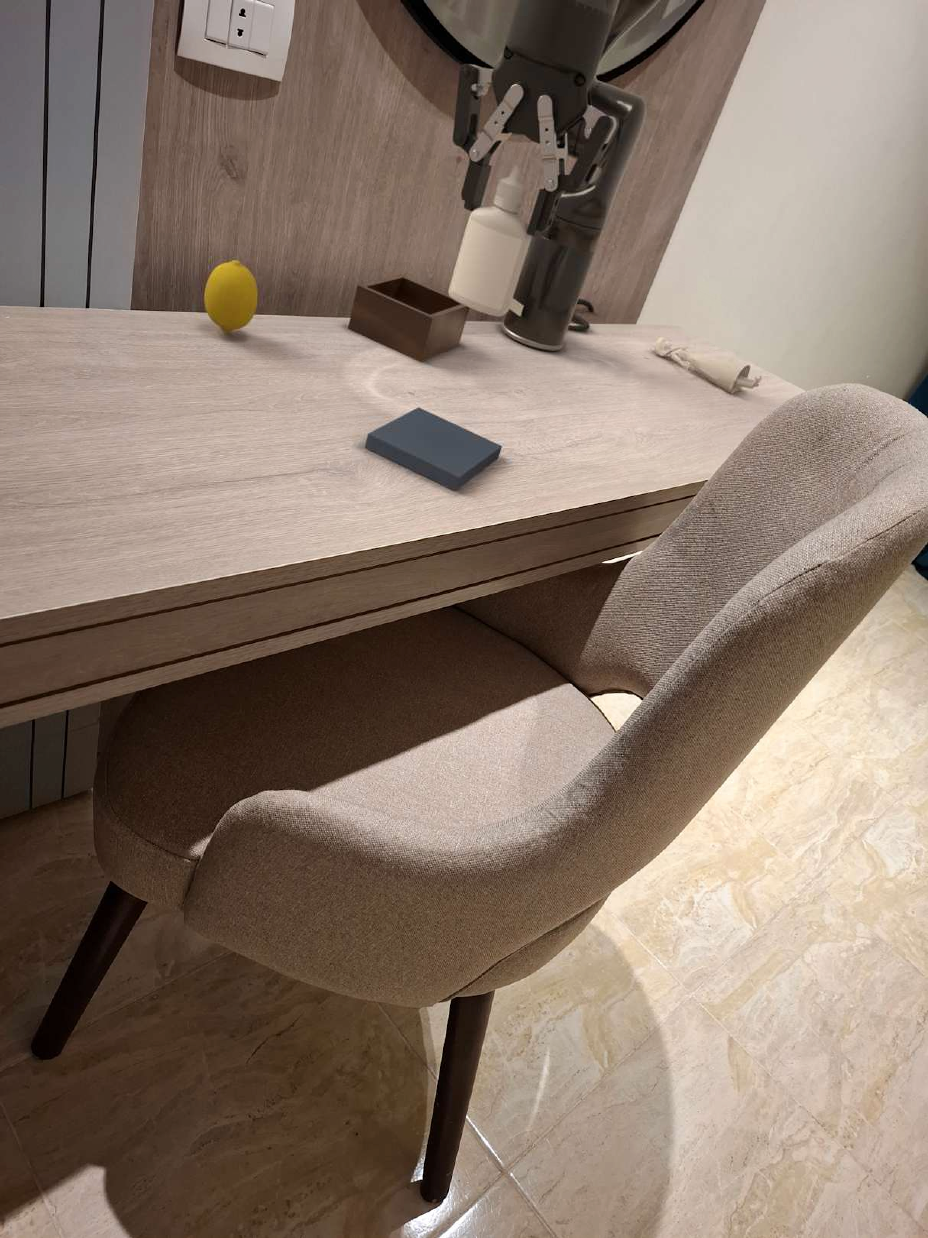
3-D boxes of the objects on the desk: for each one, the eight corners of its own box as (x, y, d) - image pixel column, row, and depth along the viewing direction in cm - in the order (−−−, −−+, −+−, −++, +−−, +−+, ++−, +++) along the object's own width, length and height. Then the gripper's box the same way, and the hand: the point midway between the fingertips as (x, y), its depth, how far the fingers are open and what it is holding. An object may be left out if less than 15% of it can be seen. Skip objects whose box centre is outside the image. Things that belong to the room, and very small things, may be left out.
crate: (390, 314, 122) (400, 274, 119) (458, 345, 120) (470, 304, 117) (347, 328, 113) (357, 284, 110) (420, 361, 111) (432, 318, 108)
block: (414, 419, 96) (418, 406, 95) (497, 458, 94) (502, 445, 93) (364, 447, 87) (368, 433, 86) (455, 491, 85) (459, 477, 84)
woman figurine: (750, 375, 134) (644, 333, 141) (738, 403, 136) (634, 360, 143) (774, 366, 142) (673, 327, 149) (762, 393, 145) (664, 353, 152)
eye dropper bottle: (479, 317, 79) (523, 173, 73) (440, 292, 82) (478, 151, 76) (513, 318, 82) (558, 180, 76) (474, 294, 85) (514, 158, 79)
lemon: (192, 331, 98) (201, 256, 93) (212, 318, 102) (221, 246, 98) (241, 348, 98) (252, 274, 93) (258, 334, 102) (270, 263, 98)
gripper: (666, 30, 71) (588, 248, 80) (504, -27, 74) (447, 191, 83) (643, 19, 65) (562, 257, 74) (468, -43, 67) (411, 194, 77)
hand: (502, 221), depth 78 cm, fingers closed on eye dropper bottle, 5 cm apart
